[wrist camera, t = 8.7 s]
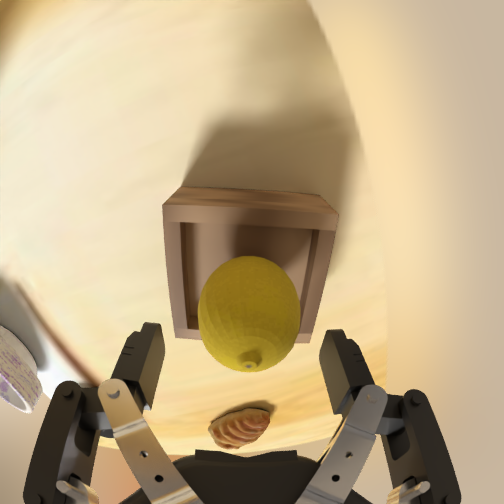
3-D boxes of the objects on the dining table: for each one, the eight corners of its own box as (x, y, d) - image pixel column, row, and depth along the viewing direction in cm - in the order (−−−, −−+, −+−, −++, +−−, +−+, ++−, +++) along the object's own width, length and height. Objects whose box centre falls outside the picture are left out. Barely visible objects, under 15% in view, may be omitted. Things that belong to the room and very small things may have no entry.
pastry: (240, 398, 30) (240, 424, 27) (282, 411, 32) (285, 434, 28) (205, 423, 33) (203, 445, 30) (244, 434, 35) (244, 454, 32)
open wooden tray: (185, 302, 23) (175, 337, 19) (180, 187, 19) (162, 204, 14) (300, 307, 23) (309, 343, 19) (319, 195, 19) (338, 214, 15)
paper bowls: (-6, 350, 29) (-25, 378, 22) (-22, 293, 23) (-50, 323, 16) (54, 392, 32) (38, 426, 25) (47, 344, 26) (21, 386, 19)
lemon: (289, 231, 17) (315, 314, 10) (290, 301, 19) (308, 394, 12) (201, 238, 17) (170, 323, 10) (215, 307, 20) (201, 399, 12)
